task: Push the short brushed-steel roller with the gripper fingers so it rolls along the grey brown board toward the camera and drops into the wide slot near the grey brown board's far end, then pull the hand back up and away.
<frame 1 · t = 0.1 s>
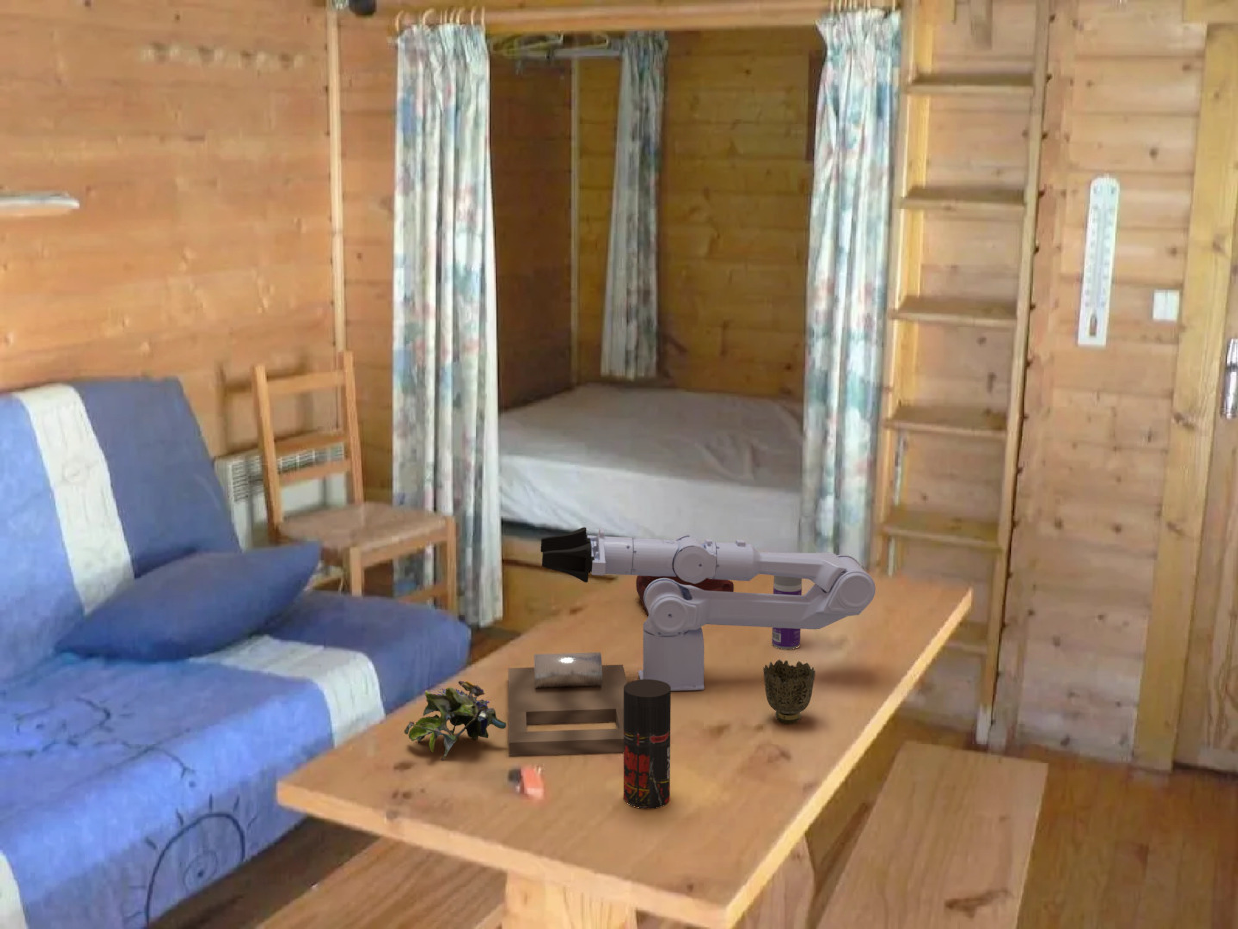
hand: (541, 552, 207), 22 cm above the table, tool horizontal, fingers open, 7 cm apart
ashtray: (675, 610, 249), on the table
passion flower: (454, 751, 190), on the table
roller: (567, 670, 207), point 4 cm above the table, touching grey brown board
container: (785, 646, 230), on the table
deodorant: (646, 799, 175), on the table
cup: (787, 721, 199), on the table
grey brown board: (570, 713, 202), on the table
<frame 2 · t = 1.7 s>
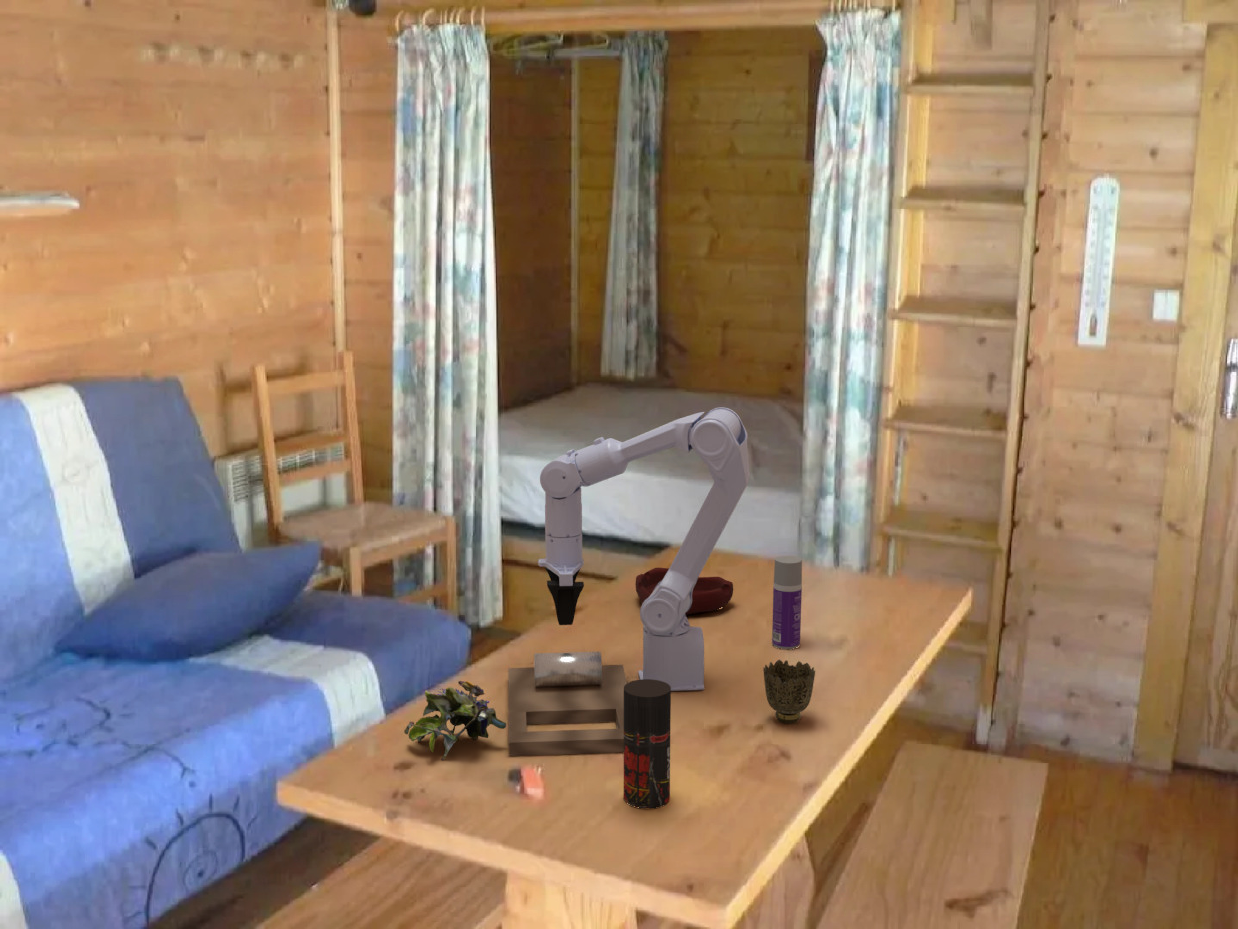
hand: (564, 616, 216), 9 cm above the table, tool pointing down, fingers open, 7 cm apart
roller: (567, 669, 207), point 4 cm above the table, tilted 8°, touching grey brown board
everything else where it was.
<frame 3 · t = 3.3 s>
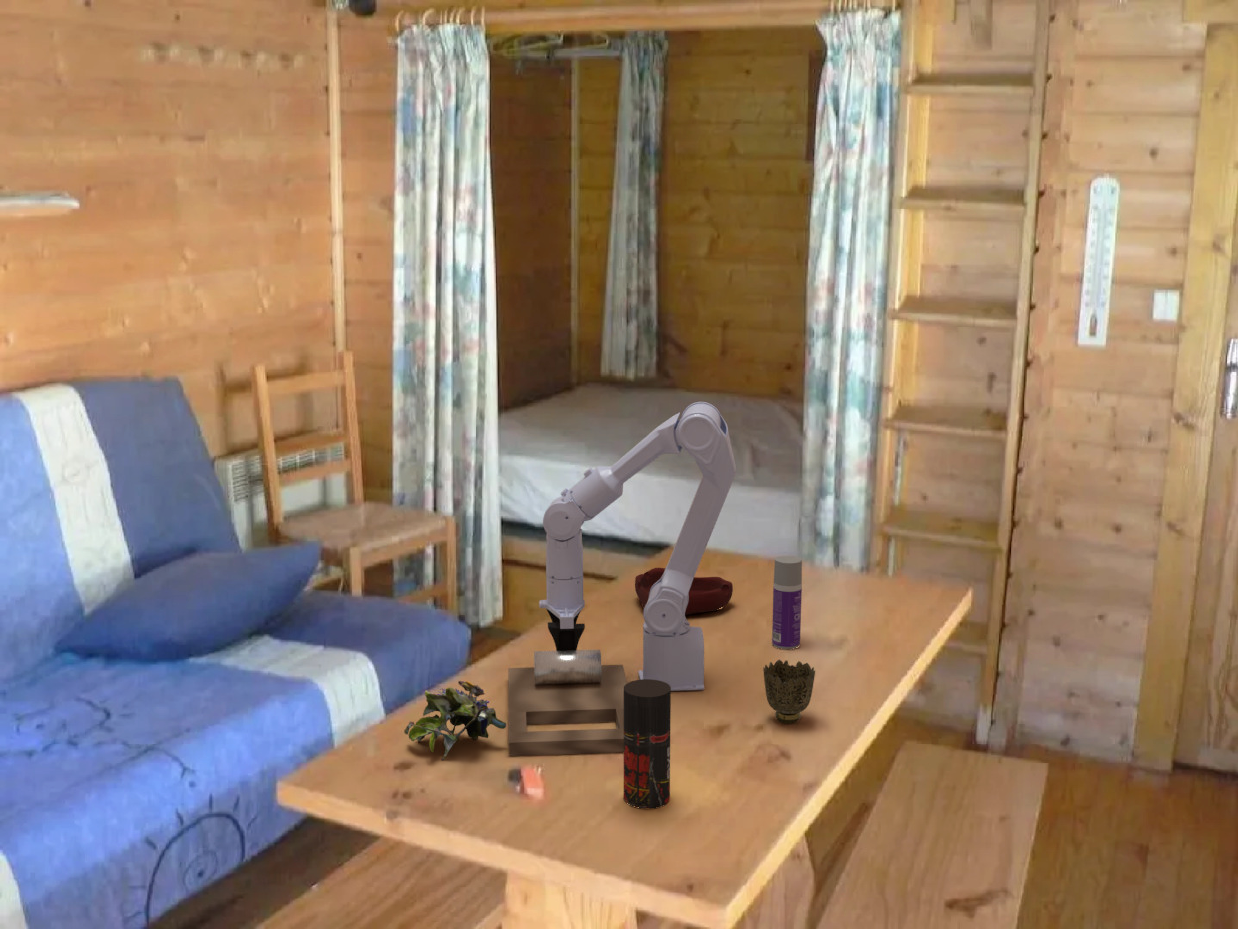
hand: (565, 657, 215), 3 cm above the table, tool pointing down, fingers open, 7 cm apart
roller: (567, 667, 208), point 4 cm above the table, tilted 28°, touching gripper, grey brown board
everything else where it was.
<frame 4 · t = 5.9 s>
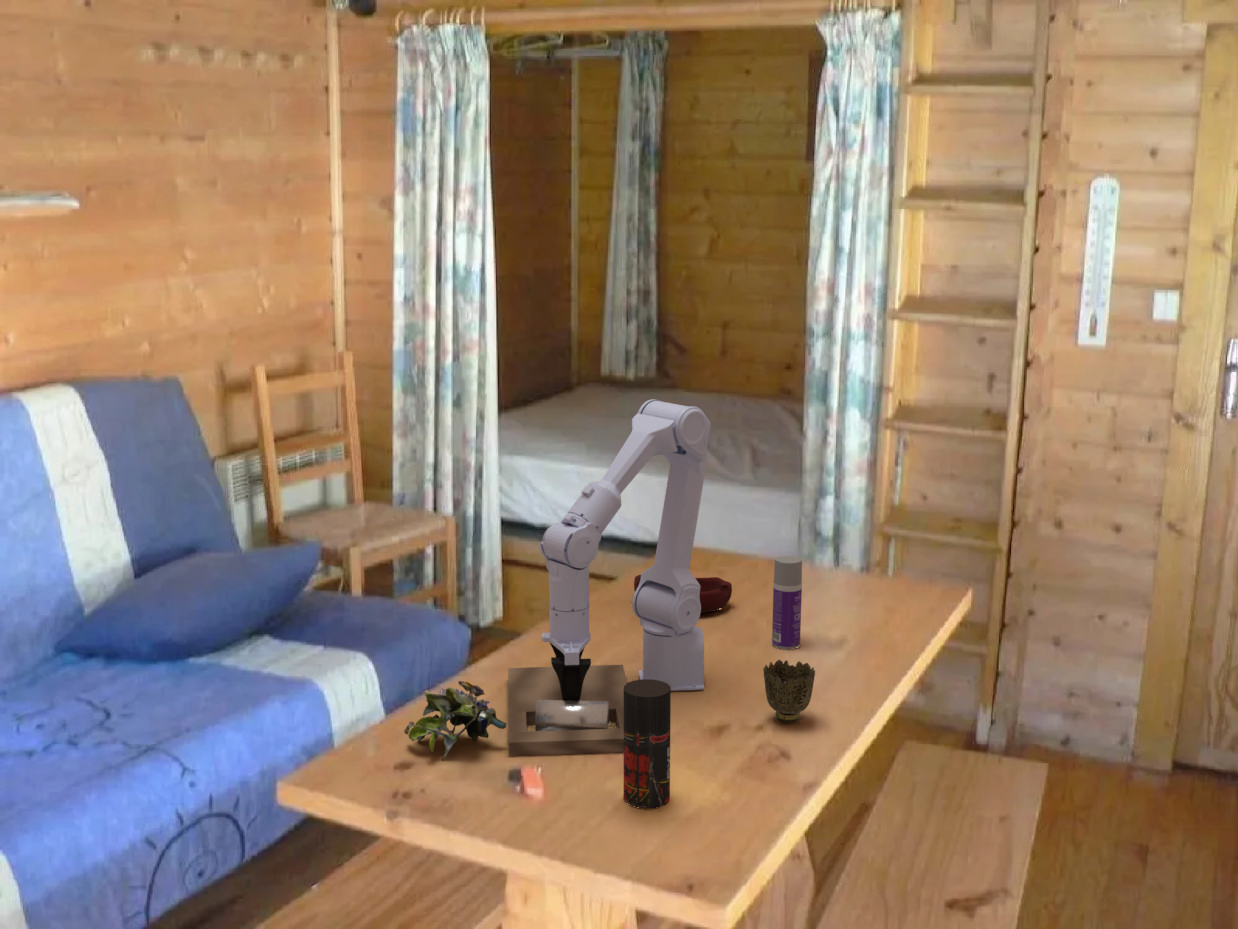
hand: (570, 694, 200), 3 cm above the table, tool pointing down, fingers open, 7 cm apart
roller: (572, 718, 194), point 2 cm above the table, touching gripper
everything else where it was.
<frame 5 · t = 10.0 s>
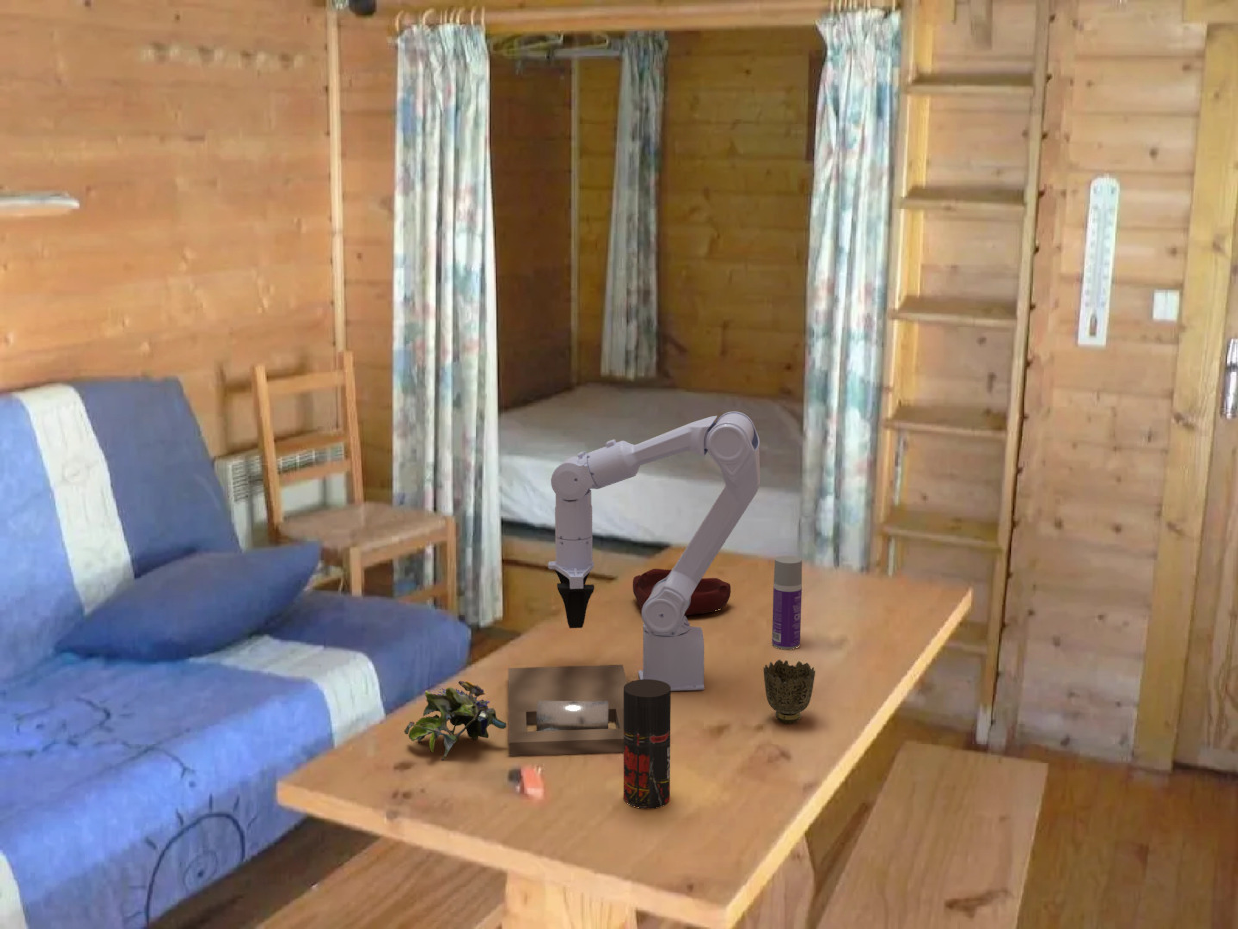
hand: (574, 619, 214), 9 cm above the table, tool pointing down, fingers open, 7 cm apart
roller: (572, 718, 194), point 2 cm above the table
at the end: roller inside the target area on the grey brown board (0.2 cm from its centre), point 2.3 cm above the grey brown board's base; roller moved 13.5 cm from its start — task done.
